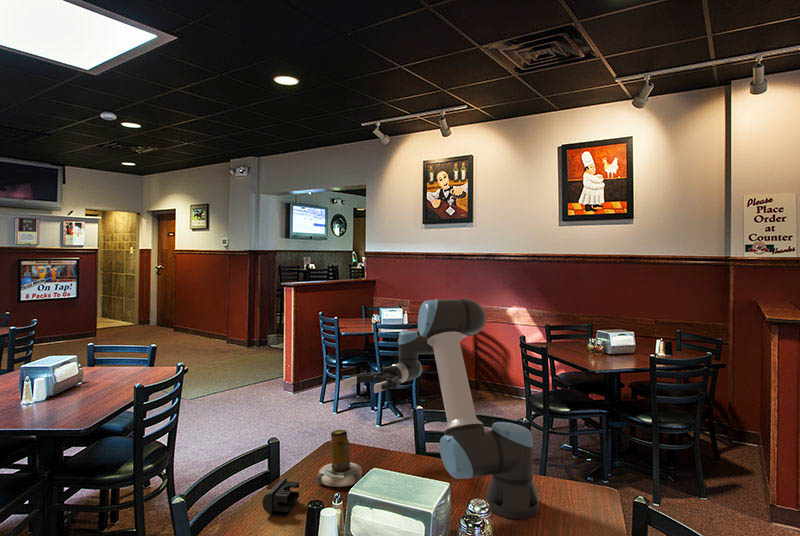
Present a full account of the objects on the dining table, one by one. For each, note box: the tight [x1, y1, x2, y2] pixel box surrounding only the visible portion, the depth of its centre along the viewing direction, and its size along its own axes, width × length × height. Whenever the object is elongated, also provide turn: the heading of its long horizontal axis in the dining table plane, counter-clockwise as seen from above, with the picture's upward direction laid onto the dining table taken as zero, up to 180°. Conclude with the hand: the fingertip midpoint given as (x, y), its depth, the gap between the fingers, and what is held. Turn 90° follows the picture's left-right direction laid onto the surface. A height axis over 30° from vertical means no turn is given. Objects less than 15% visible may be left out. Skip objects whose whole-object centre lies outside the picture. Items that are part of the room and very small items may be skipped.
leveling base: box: [316, 461, 363, 488], centre depth 154 cm, size 14×15×4 cm
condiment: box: [326, 429, 359, 475], centre depth 154 cm, size 7×8×12 cm
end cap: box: [261, 477, 300, 518], centre depth 135 cm, size 10×7×7 cm
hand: (359, 386), depth 162 cm, fingers open, 13 cm apart
